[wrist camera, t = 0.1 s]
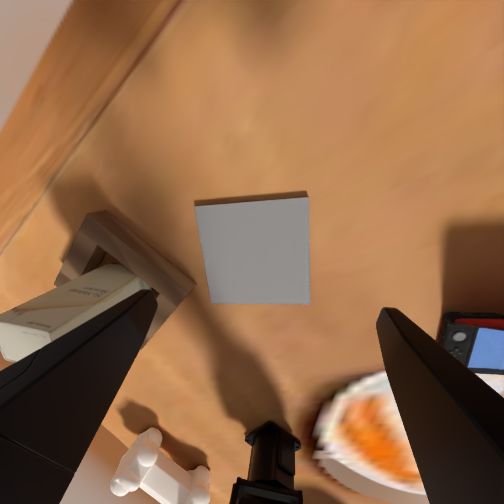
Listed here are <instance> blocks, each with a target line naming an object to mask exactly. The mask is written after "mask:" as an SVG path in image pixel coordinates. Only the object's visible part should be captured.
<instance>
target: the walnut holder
mask: <svg viewBox="0 0 504 504" xmlns="http://www.w3.org/2000/svg"><path fill="white" fill-rule="evenodd" d="M106 252H107V253H109V254H110V255H111V256H113V257H114V258H115V259H116V260H118V261H119V262H120V263H122V264H123V265H124V266H125V267H127V268H128V269H129V270H130V271H132V272H133V273H134V274H136V275H137V276H138V277H139V278H141V279H142V280H143V281H144V282H146V283H147V284H148V285H150V286H151V287H152V288H153V289H155V290H156V291H157V292H158V293H160V294H159V296H158V297H157V298H156V300H157V303H158V308H157V311H156V313H155V316H154V318H153V321H152V323H151V326H150V328H149V331H148V333H147V336H146V338H145V340H144V342H143V344H142V346H141V348H140V349H142V348H143V347H144V346H145V345H146V343H147V342H148V341H149V340H150V339H151V338H152V337H153V335H154V334H155V333H156V332H157V331H158V329H159V328H160V327H161V326H162V325H163V323H164V322H165V321H166V320H167V319H168V317H169V316H170V315H171V314H172V313H173V311H174V310H175V309H176V308H177V307H178V305H179V304H180V303H181V302H182V301H183V299H184V298H185V297H186V296H187V295H188V293H189V292H190V291H191V290H192V289H193V287H194V286H195V285H196V283H195V282H194V281H193V280H191V279H190V278H189V277H188V276H186V275H185V274H184V273H183V272H181V271H180V270H179V269H178V268H176V267H175V266H174V265H173V264H171V263H170V262H169V261H168V260H166V259H165V258H164V257H163V256H162V255H160V254H159V253H158V252H157V251H155V250H154V249H153V248H152V247H150V246H149V245H148V244H147V243H145V242H144V241H143V240H142V239H140V238H139V237H138V236H137V235H135V234H134V233H133V232H132V231H130V230H129V229H128V228H127V227H125V226H124V225H123V224H122V223H120V222H119V221H118V220H117V219H116V218H114V217H113V216H112V215H111V214H109V213H108V212H107V211H106V210H105V211H99V212H93V213H87V215H86V217H85V219H84V221H83V223H82V225H81V227H80V229H79V232H78V234H77V236H76V238H75V240H74V242H73V244H72V246H71V249H70V251H69V253H68V255H67V257H66V259H65V261H64V263H63V265H62V268H61V270H60V272H59V274H58V276H57V278H56V280H55V282H54V285H56V286H57V287H59V286H61V285H63V284H65V283H67V282H69V281H72V280H74V279H76V278H78V277H80V276H82V275H84V274H86V273H88V272H91V271H93V270H95V269H97V268H98V267H99V265H100V263H101V261H102V259H103V258H104V256H105V254H106Z"/></svg>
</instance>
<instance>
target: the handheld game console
mask: <svg viewBox="0 0 504 504" xmlns="http://www.w3.org/2000/svg"><path fill="white" fill-rule="evenodd" d="M444 318H445V319H444V321H443V325H442V329H441V334H440V339H439V344H440V345H441V346H442V347H444V348H445V349H446V350H447V351H448V352H450V353H451V354H452V355H453V356H454V357H455V358H457V359H458V360H459V361H460V362H461V363H463V364H464V365H465V366H466V367H467V368H469V369H470V370H471V371H472V372H473V373H479V374H498V375H504V315H500V314H496V313H460V312H448V313H445V315H444Z"/></svg>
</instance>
